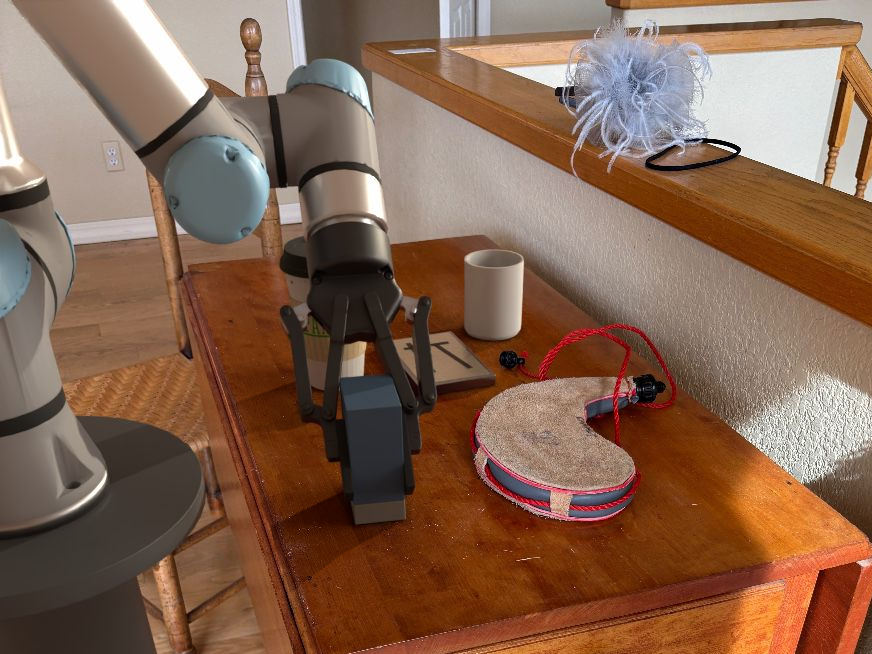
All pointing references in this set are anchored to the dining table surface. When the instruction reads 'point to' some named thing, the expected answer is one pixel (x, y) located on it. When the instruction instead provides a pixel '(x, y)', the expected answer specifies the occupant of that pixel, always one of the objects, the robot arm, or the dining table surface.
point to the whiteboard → (447, 364)
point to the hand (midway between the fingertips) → (379, 493)
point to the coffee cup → (315, 335)
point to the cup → (493, 294)
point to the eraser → (374, 447)
